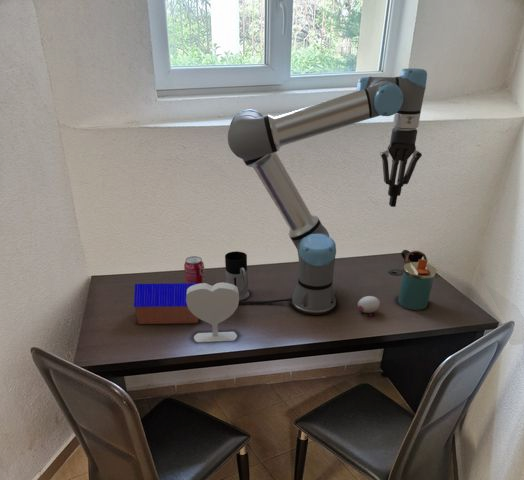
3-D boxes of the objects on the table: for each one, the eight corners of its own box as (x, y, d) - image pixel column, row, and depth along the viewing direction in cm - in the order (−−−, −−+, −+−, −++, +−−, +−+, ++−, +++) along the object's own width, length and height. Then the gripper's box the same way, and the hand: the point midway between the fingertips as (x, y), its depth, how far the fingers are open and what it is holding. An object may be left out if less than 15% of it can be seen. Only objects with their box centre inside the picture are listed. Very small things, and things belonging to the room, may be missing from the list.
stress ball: (373, 315, 161) (370, 296, 161) (384, 313, 153) (382, 293, 153) (353, 318, 159) (351, 298, 159) (364, 316, 151) (361, 296, 151)
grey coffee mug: (244, 287, 171) (244, 249, 162) (257, 305, 160) (257, 265, 152) (222, 290, 169) (220, 252, 160) (233, 309, 158) (232, 269, 149)
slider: (416, 269, 154) (418, 259, 152) (425, 268, 154) (427, 259, 152) (419, 273, 151) (421, 264, 149) (428, 273, 151) (431, 264, 149)
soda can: (203, 284, 173) (201, 254, 166) (207, 292, 168) (205, 262, 161) (185, 286, 171) (181, 256, 164) (188, 295, 166) (185, 265, 159)
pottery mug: (430, 268, 185) (433, 256, 177) (414, 283, 183) (416, 271, 176) (407, 252, 190) (409, 240, 183) (391, 267, 188) (392, 254, 181)
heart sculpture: (240, 331, 147) (238, 280, 137) (240, 340, 143) (238, 288, 133) (191, 333, 146) (185, 282, 136) (190, 342, 142) (184, 290, 132)
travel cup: (393, 295, 166) (400, 260, 158) (422, 294, 166) (430, 259, 158) (401, 310, 158) (409, 274, 149) (432, 310, 158) (441, 273, 150)
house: (198, 323, 151) (195, 292, 144) (137, 324, 150) (131, 293, 144) (201, 305, 160) (198, 274, 154) (143, 305, 160) (138, 275, 153)
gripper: (386, 130, 137) (375, 209, 151) (430, 130, 137) (414, 208, 151) (380, 125, 143) (370, 201, 157) (422, 125, 143) (408, 201, 157)
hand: (392, 205), depth 154 cm, fingers closed
